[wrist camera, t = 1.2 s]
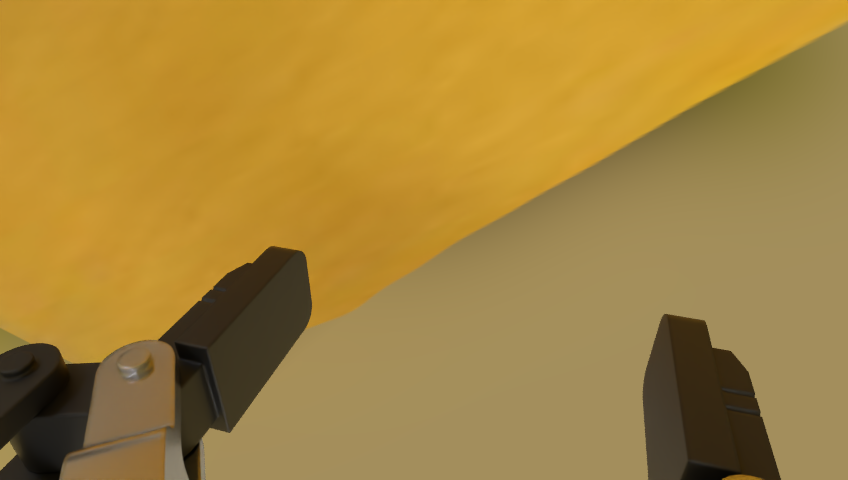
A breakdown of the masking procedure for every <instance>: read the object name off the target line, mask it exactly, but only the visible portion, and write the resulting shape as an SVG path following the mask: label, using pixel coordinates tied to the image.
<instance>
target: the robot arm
mask: <svg viewBox="0 0 848 480" xmlns="http://www.w3.org/2000/svg"><path fill="white" fill-rule="evenodd" d="M311 310H312V300H311V292H310V285H309V277H308V269H307V262H306V257H305V254H304V253H303V252H302V251H298V250H292V249H286V248H281V247H275V246H271V247H269V248H268V249H266V250H265V251H264V252H263V253H262V254H261V255H260V256H259V257H258V258H257V259H256V260H255V261H254V262H253V263H252V264H251V263H246V264H244V265H243V266H241V267H239V268H237V269H235V270H233V271H231V272H229V273H227V274H226V275H225V276H224V277H223V278H222V279H221V280H220V281H219V282H218V283H217V284H216V285H215V286H214V288H213V290H210V291H209V292H208V293H207V294H206V295H205V296H203V297H202V301H198V302H197V303H196V304H195V305H194V306H193V307H192V308H191V309H190V310H189V311H188V312H187V313H186V314H185V315H184V316H183V317H182V318H181V319H179V320H178V321H177V322H176V323H175V324H174V325H173V326H172V327H171V328H170V329H169V330H168V331H167V332H166V333H165V334H164V335H163V336H162V337H161V338H160V339H159V340H144V341H138V342H134V343H131V344H128V345H126V346H123V347H121V348H119V349H117V350H116V351H114V352H113V353H111V354H110V355H109V356H107V357H106V358H105V359H104V360H103V361H102V363H80V364H65V362H64V360H63V358H62V356H61V353H60V351H59V349H57V348H56V347H55V346H53V345H50V344H44V343H36V344H29V345H24V346H20V347H17V348H14V349H12V350H9V351H7V352H5V353H3V354H1V355H0V450H1V449H2V448H3V447H4V446H5V445H6V444H7V443H8V442H9V441H10V443H11V445H12V446H13V448H14V450H15V451H16V453H17V455H16V456H15V457H14V458H13V459H12V460H11V461H10V462H9V463H8V464H7V465H6V466H5V467H4V468H3V469H2V470H1V471H0V480H205V461H204V460H205V459H204V445H203V441H202V437H203V436H204V434H205V433H206V432H207V431H208V429H209V428H214V429H217V430H221V431H225V432H228V433H230V432H231V431H232V429H233V427H235V425H236V424H237V422H238V421H239V420H240V418H241V417H242V415H243V414H244V413H245V411H246V410H247V409H248V407H249V406H250V404H251V403H252V402H253V400H254V399H255V397H256V396H257V395H258V393H259V392H260V391H261V389H262V388H263V386H264V385H265V384H266V382H267V381H268V379H269V378H270V377H271V375H272V374H273V372H274V371H275V370H276V368H277V367H278V366H279V364H280V363H281V361H282V360H283V359H284V357H285V356H286V354H287V353H288V352H289V350H290V349H291V347H292V346H293V345H294V343H295V342H296V340H297V339H298V338H299V336H300V335H301V334H302V332H303V331H304V330H305V328H306V326H307V324H308V322H309V319H310V316H311ZM643 408H644V422H645V437H646V451H647V465H648V479H649V480H781V478H780V475H779V472H778V468H777V465H776V462H775V459H774V455H773V452H772V448H771V445H770V442H769V439H768V435H767V432H766V429H765V425H764V422H763V419H762V417H760V409H759V406H758V402H757V399H756V398H755V392H754V389H753V386H752V382H751V379H750V376H749V373H748V371H747V370H746V369H745V367H744V366H743V365H742V364H741V363H740V361H739V360H738V359H737V358H736V357H735V356H734V354H733V353H732V352H731V351H728V350H721V349H716V348H712V345H711V341H710V337H709V333H708V329H707V325H706V322H705V321H704V320H698V319H692V318H686V317H680V316H674V315H668V314H664V315H663V317H662V319H661V321H660V324H659V328H658V331H657V334H656V338H655V341H654V344H653V348H652V351H651V355H650V358H649V361H648V365H647V368H646V372H645V377H644V384H643Z"/></svg>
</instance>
